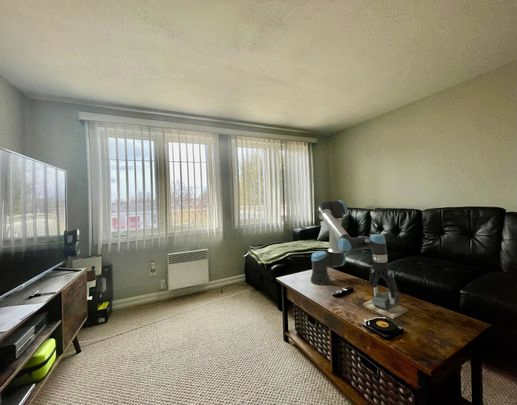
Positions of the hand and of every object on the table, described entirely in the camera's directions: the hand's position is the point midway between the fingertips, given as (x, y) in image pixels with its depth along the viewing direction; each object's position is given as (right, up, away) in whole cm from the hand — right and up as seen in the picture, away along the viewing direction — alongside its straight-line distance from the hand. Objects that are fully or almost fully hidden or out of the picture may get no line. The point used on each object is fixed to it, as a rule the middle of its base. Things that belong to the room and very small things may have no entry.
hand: (384, 300), depth 119 cm
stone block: (+1, -2, 0) cm, 3 cm away
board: (0, -4, 0) cm, 4 cm away
